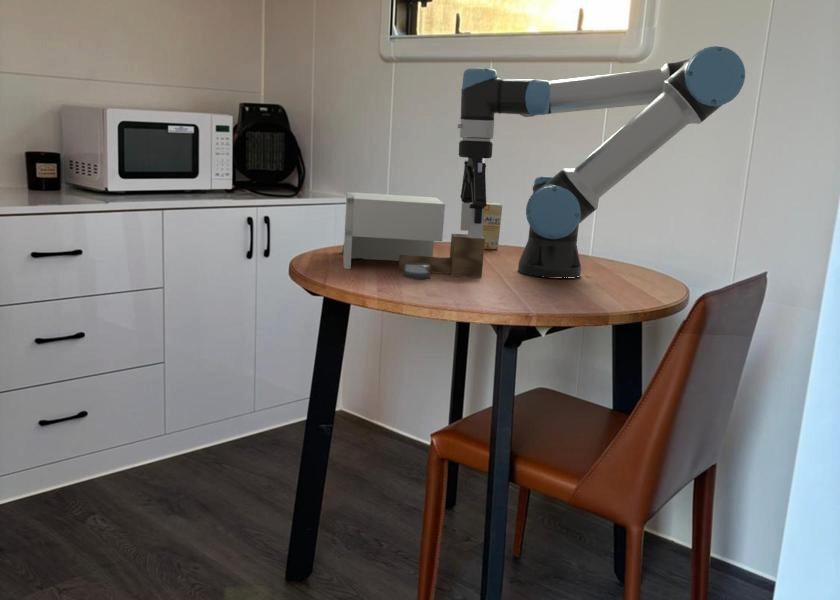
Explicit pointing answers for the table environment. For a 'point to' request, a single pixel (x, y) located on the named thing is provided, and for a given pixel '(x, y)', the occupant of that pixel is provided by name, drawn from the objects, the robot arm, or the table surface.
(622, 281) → the table surface
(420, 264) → the shiny grey metal dome
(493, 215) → the supplement box
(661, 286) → the table surface
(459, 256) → the tan block on stick
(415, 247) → the shelf cabinet
